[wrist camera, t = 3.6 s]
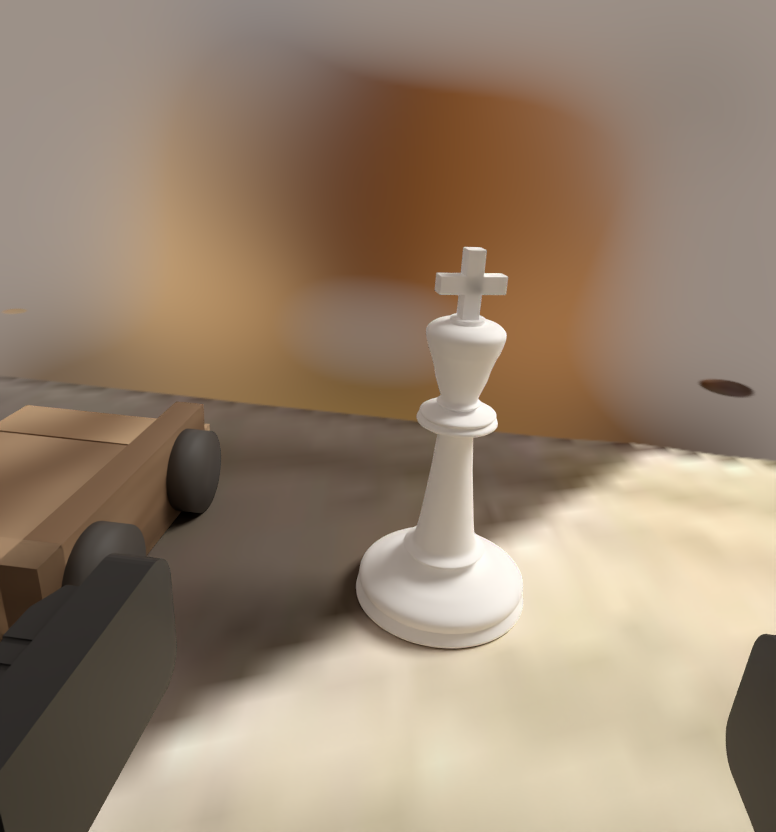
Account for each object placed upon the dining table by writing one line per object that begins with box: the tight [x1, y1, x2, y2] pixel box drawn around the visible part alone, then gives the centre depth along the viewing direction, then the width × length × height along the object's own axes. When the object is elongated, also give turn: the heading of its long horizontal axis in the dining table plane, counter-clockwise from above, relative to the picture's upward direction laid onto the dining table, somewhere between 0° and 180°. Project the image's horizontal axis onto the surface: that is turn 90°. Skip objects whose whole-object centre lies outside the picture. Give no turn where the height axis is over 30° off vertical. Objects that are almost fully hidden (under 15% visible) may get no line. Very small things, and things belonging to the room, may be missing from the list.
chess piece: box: [356, 247, 523, 648], centre depth 18 cm, size 5×5×10 cm
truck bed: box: [0, 402, 221, 642], centre depth 22 cm, size 12×13×3 cm
